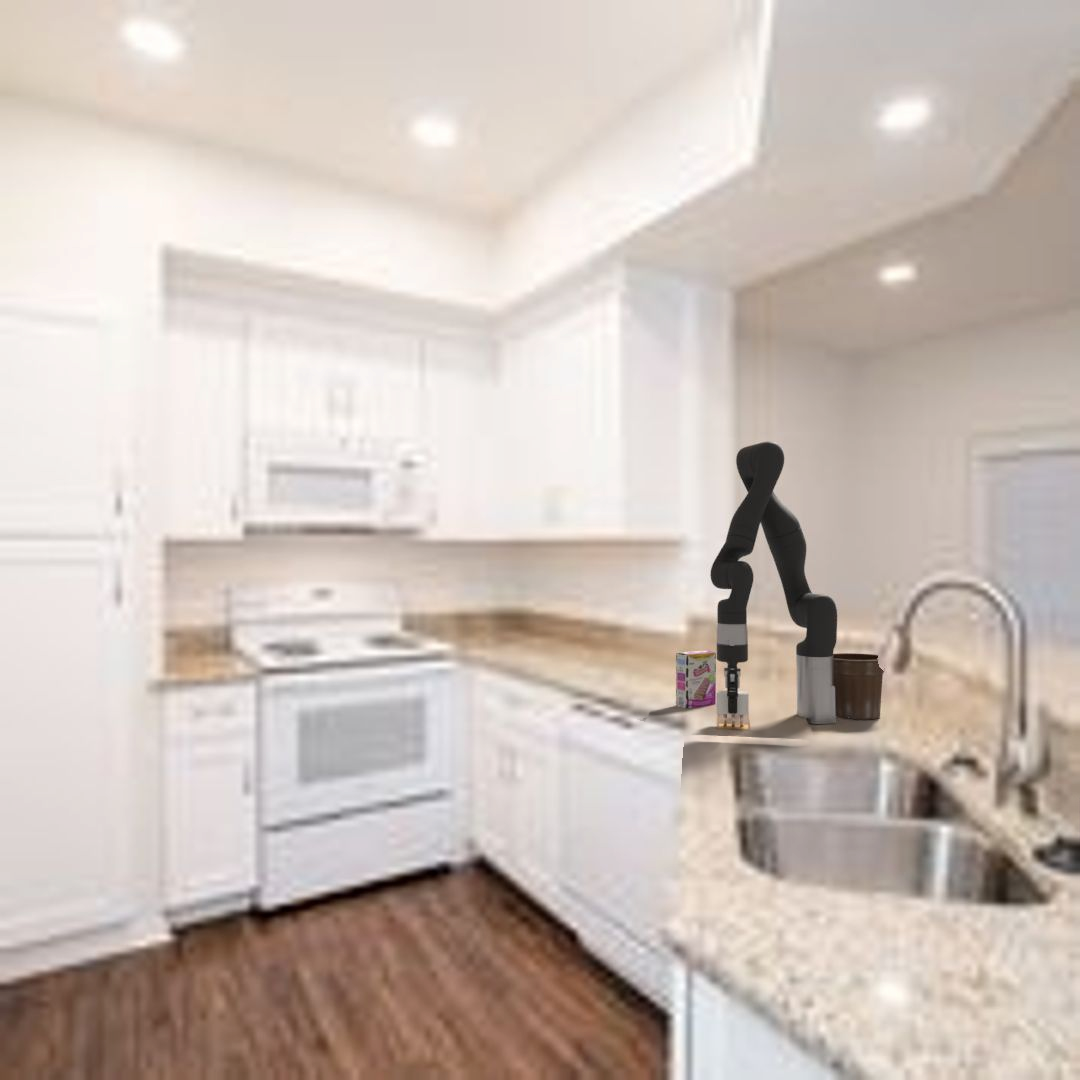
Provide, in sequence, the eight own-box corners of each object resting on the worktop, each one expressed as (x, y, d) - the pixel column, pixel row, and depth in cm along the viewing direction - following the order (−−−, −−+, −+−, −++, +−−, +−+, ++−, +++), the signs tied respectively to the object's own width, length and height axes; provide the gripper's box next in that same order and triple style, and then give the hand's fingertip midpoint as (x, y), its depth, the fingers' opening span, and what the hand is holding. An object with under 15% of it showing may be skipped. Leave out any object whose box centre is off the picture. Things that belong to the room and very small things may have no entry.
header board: (748, 720, 212) (748, 714, 212) (750, 736, 193) (750, 730, 193) (717, 718, 214) (717, 713, 214) (716, 735, 195) (716, 729, 195)
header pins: (743, 726, 197) (743, 714, 197) (743, 727, 197) (743, 714, 197) (723, 725, 199) (723, 713, 199) (723, 726, 198) (723, 714, 198)
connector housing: (716, 713, 196) (716, 693, 197) (716, 710, 201) (716, 690, 201) (748, 715, 195) (748, 694, 195) (748, 711, 199) (748, 691, 199)
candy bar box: (687, 714, 221) (687, 654, 221) (675, 711, 225) (674, 652, 225) (717, 709, 227) (716, 651, 227) (704, 706, 231) (704, 649, 231)
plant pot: (810, 712, 221) (809, 654, 221) (856, 708, 227) (855, 651, 227) (853, 724, 206) (852, 661, 206) (901, 719, 212) (900, 658, 212)
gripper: (717, 638, 206) (717, 705, 205) (716, 644, 192) (716, 716, 192) (747, 639, 204) (747, 706, 204) (748, 645, 190) (749, 717, 190)
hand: (732, 711), depth 198 cm, fingers closed on connector housing, 4 cm apart
